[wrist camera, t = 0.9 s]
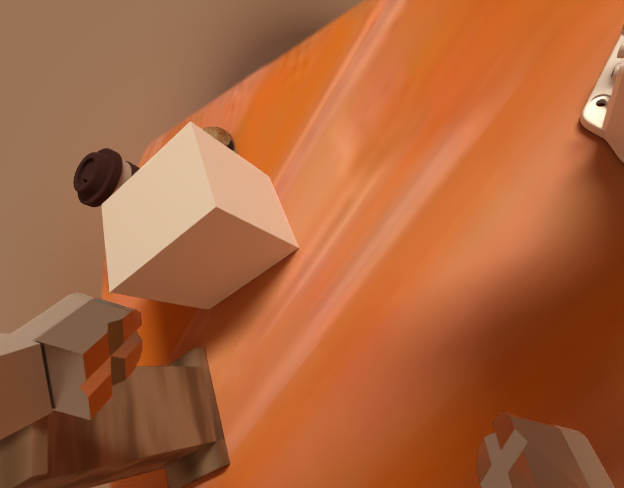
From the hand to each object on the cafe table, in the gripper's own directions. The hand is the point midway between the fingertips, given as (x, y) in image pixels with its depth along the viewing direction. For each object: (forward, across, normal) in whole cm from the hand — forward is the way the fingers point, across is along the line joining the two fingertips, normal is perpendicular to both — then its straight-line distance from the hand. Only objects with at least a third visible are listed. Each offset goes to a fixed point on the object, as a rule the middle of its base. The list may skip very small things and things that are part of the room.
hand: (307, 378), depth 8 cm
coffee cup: (+55, +35, +23) cm, 69 cm away
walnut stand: (+28, +14, +39) cm, 50 cm away
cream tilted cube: (+43, +16, +20) cm, 51 cm away
